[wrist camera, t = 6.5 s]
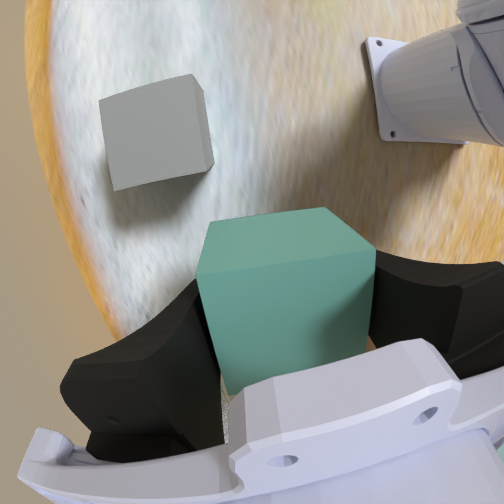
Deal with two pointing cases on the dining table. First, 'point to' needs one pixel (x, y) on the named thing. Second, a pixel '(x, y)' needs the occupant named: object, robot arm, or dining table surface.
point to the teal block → (284, 293)
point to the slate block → (156, 132)
